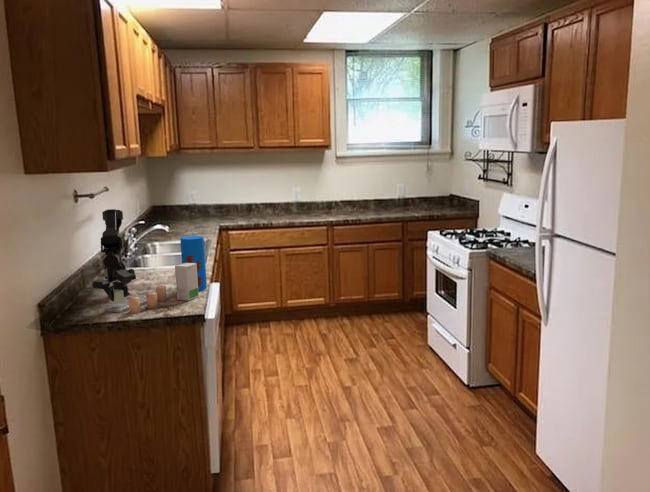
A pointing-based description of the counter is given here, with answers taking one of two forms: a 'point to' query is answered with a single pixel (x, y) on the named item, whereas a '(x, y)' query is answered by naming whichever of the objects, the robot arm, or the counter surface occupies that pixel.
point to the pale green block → (118, 296)
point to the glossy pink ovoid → (161, 293)
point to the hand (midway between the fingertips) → (116, 299)
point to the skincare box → (186, 281)
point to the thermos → (195, 257)
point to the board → (124, 306)
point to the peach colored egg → (134, 305)
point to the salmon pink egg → (151, 300)
